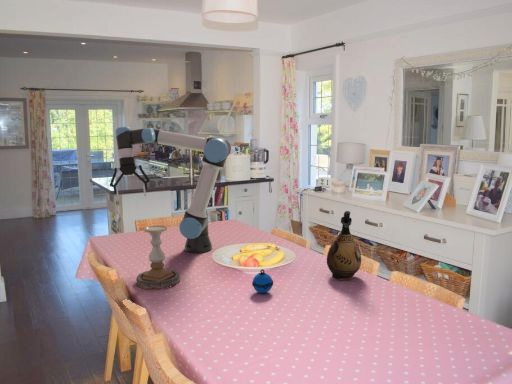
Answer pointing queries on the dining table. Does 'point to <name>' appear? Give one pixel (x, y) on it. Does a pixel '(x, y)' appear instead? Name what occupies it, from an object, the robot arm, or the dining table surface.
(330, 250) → the ceramic jug
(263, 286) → the ornament
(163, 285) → the tray
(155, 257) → the candle holder
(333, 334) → the dining table surface
